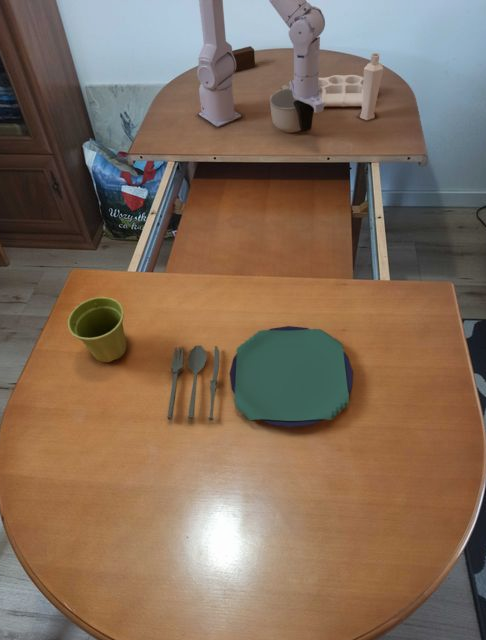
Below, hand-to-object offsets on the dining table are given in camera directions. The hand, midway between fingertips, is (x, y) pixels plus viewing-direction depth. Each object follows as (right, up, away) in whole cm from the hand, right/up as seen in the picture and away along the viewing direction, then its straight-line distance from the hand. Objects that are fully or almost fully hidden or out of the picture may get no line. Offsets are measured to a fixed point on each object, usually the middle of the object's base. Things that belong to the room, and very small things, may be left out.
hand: (305, 129), depth 125 cm
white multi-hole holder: (+13, +15, +13) cm, 23 cm away
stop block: (-16, +32, +30) cm, 46 cm away
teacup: (-3, +4, +7) cm, 9 cm away
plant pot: (-40, -56, -36) cm, 78 cm away
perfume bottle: (+17, +6, +6) cm, 19 cm away
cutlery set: (-14, -61, -43) cm, 75 cm away
